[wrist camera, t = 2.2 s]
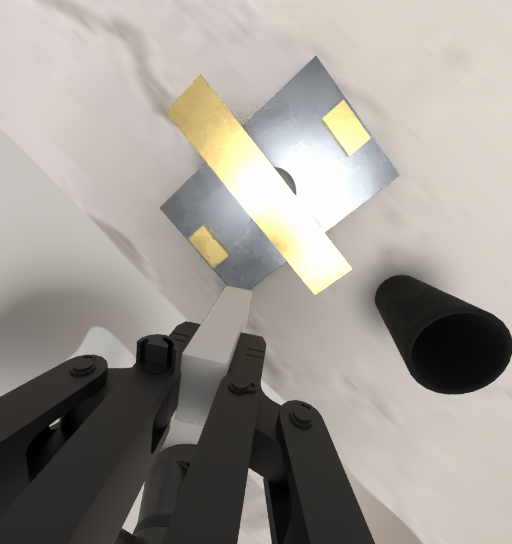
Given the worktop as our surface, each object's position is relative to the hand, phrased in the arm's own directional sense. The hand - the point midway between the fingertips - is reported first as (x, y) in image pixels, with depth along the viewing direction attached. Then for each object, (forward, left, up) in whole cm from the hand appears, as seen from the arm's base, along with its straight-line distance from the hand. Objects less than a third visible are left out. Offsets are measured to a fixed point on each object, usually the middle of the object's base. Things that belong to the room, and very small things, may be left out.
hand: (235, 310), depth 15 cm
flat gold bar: (+5, +4, -12) cm, 14 cm away
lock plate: (+5, +4, -19) cm, 20 cm away
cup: (+9, -15, -19) cm, 25 cm away
